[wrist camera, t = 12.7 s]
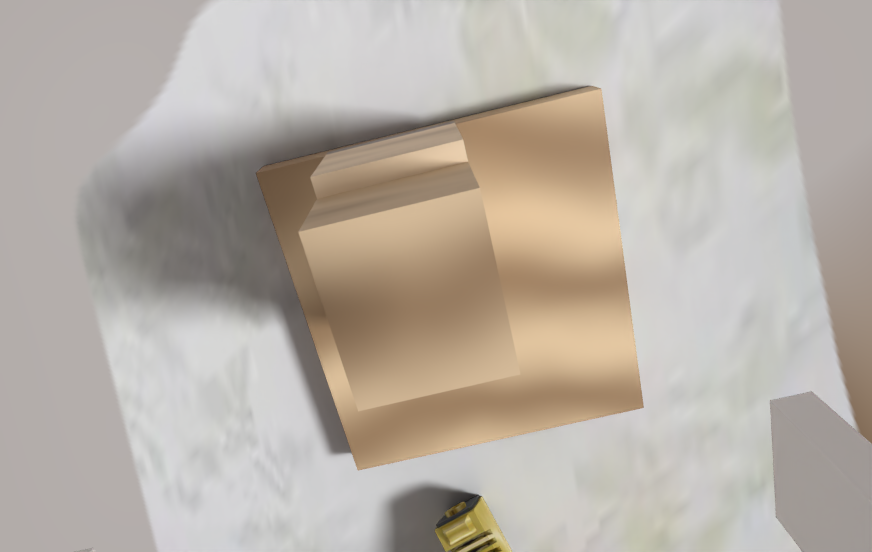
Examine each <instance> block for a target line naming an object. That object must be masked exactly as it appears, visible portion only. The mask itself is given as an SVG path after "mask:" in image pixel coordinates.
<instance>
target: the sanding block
mask: <svg viewBox="0 0 872 552" xmlns="http://www.w3.org/2000/svg"><path fill="white" fill-rule="evenodd" d="M310 178H311V181H312V185H313V188H314V191H315V194H316V197H317V200H316V202H315V203H314V205H313V207H312V209H311V210H310V212H309V214H308V216H307V218H306V219H305V221H304V223H303V225H302V226H301V228H300V230H299V232H298V233H299V236H300V239H301V242H302V245H303V248H304V251H305V254H306V257H307V260H308V263H309V266H310V269H311V272H312V274H313V277H314V280H315V283H316V286H317V289H318V292H319V295H320V298H321V301H322V304H323V307H324V310H325V313H326V316H327V319H328V322H329V325H330V328H331V331H332V334H333V337H334V340H335V343H336V346H337V349H338V352H339V355H340V358H341V361H342V364H343V367H344V370H345V373H346V376H347V379H348V382H349V385H350V388H351V391H352V394H353V397H354V400H355V403H356V406H357V409H358V411H362V410H367V409H371V408H375V407H380V406H384V405H389V404H393V403H397V402H402V401H406V400H410V399H415V398H419V397H424V396H428V395H432V394H437V393H441V392H446V391H450V390H454V389H459V388H463V387H468V386H472V385H476V384H481V383H485V382H490V381H494V380H498V379H503V378H507V377H511V376H516V375H520V370H519V365H518V361H517V356H516V351H515V347H514V342H513V338H512V333H511V328H510V324H509V319H508V315H507V310H506V305H505V301H504V296H503V292H502V287H501V282H500V278H499V273H498V269H497V264H496V259H495V255H494V250H493V245H492V241H491V236H490V232H489V227H488V222H487V218H486V213H485V209H484V204H483V199H482V195H481V190H480V187H479V185H478V182H477V180H476V178H475V176H474V174H473V171H472V169H471V167H470V165H469V163H468V159H467V154H466V150H465V145H464V141H463V138H462V136H461V134H460V132H459V130H458V128H457V126H456V124H455V122H454V121H451V122H447V123H443V124H439V125H435V126H431V127H427V128H423V129H419V130H415V131H411V132H407V133H403V134H399V135H395V136H391V137H387V138H383V139H379V140H375V141H371V142H367V143H363V144H359V145H355V146H351V147H347V148H343V149H339V150H335V151H331V152H328V153H327V154H326V155H325V157H324V158H323V160H322V161H321V163H320V164H319V165H318V167H317V168H316V170H315V171H314V173H313V174H312V175H311V177H310Z"/></svg>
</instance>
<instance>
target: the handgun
mask: <svg viewBox="0 0 872 552" xmlns="http://www.w3.org/2000/svg"><path fill="white" fill-rule="evenodd" d="M435 532H436V534H437V536H438V538H439V540H440V542H441V544H442V546H443V548H444V550H445V552H447V551H449V550H451V551H452V552H512V550H511V548H510V547H509V545H508V543H507V541H506V539H505V537H504V536H503V534H502V532H501V530H500V528H499V526H498V525H497V523H496V521H495V519H494V517H493V515H492V514H491V512H490V510H489V508H488V506H487V504H486V503H485V501H484V499H483V497H479V495H477V496H476V497H474V498H472V499H470V500H468V501H466V502H461V503H459V504H457V505H455V506H454V507H452V508H451V509H449V510H448V511H446V512H445V516H444V517H443V518H442V519H441V520H440V521H439V522H438V523H437V528H436V529H435Z"/></svg>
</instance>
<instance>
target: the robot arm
mask: <svg viewBox="0 0 872 552" xmlns="http://www.w3.org/2000/svg"><path fill="white" fill-rule="evenodd" d="M770 412H771V431H772V450H773V470H774V489H775V508H776V518H777V519H778V520H779V522H780V523H781V524H782V525H783V527H784V528H785V529H786V531H787V532H788V533H789V535H790V536H791V537H792V539H793V540H794V541H795V542H796V544H797V545H798V546H799V548H800V549H801V550H802V552H872V444H871V443H870V442H869V441H868V440H866V439H865V438H864V437H863V436H862V435H861V434H860V433H859V432H857V431H856V430H855V429H854V428H853V427H852V426H851V425H849V424H848V423H847V422H846V421H845V420H844V419H843V418H841V417H840V416H839V415H838V414H837V413H836V412H835V411H833V410H832V409H831V408H830V407H829V406H828V405H827V404H826V403H824V402H823V401H822V400H821V399H820V398H819V397H818V396H816V395H815V394H814V393H813V392H812V391H811V392H807V393H802V394H797V395H793V396H788V397H784V398H779V399H774V400H770ZM76 552H95V550H94V549H93V548H90V549H85V550H80V551H76Z"/></svg>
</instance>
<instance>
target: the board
mask: <svg viewBox="0 0 872 552" xmlns="http://www.w3.org/2000/svg"><path fill="white" fill-rule="evenodd" d="M451 121H454V122H455V124H456V126H457V128H458V130H459V132H460V134H461V136H462V138H463V141H464V145H465V150H466V154H467V159H468V163H469V165H470V167H471V169H472V171H473V174H474V176H475V178H476V180H477V182H478V185H479V187H480V190H481V195H482V199H483V204H484V209H485V213H486V218H487V222H488V227H489V232H490V236H491V241H492V245H493V250H494V255H495V259H496V264H497V269H498V273H499V278H500V282H501V287H502V292H503V296H504V301H505V305H506V310H507V315H508V319H509V324H510V328H511V333H512V338H513V342H514V347H515V351H516V356H517V361H518V365H519V370H520V375H516V376H511V377H507V378H503V379H498V380H494V381H490V382H485V383H481V384H476V385H472V386H468V387H463V388H459V389H454V390H450V391H446V392H441V393H437V394H432V395H428V396H424V397H419V398H415V399H410V400H406V401H402V402H397V403H393V404H389V405H384V406H380V407H375V408H371V409H367V410H362V411H358V409H357V406H356V403H355V400H354V397H353V394H352V391H351V388H350V385H349V382H348V379H347V376H346V373H345V370H344V367H343V364H342V361H341V358H340V355H339V352H338V349H337V346H336V343H335V340H334V337H333V334H332V331H331V328H330V325H329V322H328V319H327V316H326V313H325V310H324V307H323V304H322V301H321V298H320V295H319V292H318V289H317V286H316V283H315V280H314V277H313V274H312V272H311V269H310V266H309V263H308V260H307V257H306V254H305V251H304V248H303V245H302V242H301V239H300V236H299V233H298V232H299V230H300V228H301V226H302V225H303V223H304V221H305V219H306V218H307V216H308V214H309V212H310V210H311V209H312V207H313V205H314V203H315V202H316V200H317V197H316V194H315V191H314V188H313V185H312V181H311V178H310V177H311V175H312V174H313V173H314V171H315V170H316V168H317V167H318V165H319V164H320V163H321V161H322V160H323V158H324V157H325V155H326V154H327V153H328V152H331V151H335V150H339V149H343V148H347V147H351V146H355V145H359V144H363V143H367V142H371V141H375V140H379V139H383V138H387V137H391V136H395V135H399V134H403V133H407V132H411V131H415V130H419V129H423V128H427V127H431V126H435V125H439V124H443V123H447V122H451ZM256 175H257V178H258V181H259V184H260V187H261V190H262V193H263V196H264V199H265V202H266V204H267V207H268V210H269V213H270V216H271V219H272V222H273V225H274V228H275V231H276V234H277V236H278V239H279V242H280V245H281V248H282V251H283V254H284V257H285V260H286V263H287V266H288V269H289V271H290V274H291V277H292V280H293V283H294V286H295V289H296V292H297V295H298V298H299V301H300V303H301V306H302V309H303V312H304V315H305V318H306V321H307V324H308V327H309V330H310V333H311V335H312V338H313V341H314V344H315V347H316V350H317V353H318V356H319V359H320V362H321V365H322V368H323V370H324V373H325V376H326V379H327V382H328V385H329V388H330V391H331V394H332V397H333V400H334V402H335V405H336V408H337V411H338V414H339V417H340V420H341V423H342V426H343V429H344V432H345V434H346V437H347V440H348V443H349V446H350V449H351V452H352V455H353V458H354V461H355V464H356V467H357V469H358V470H362V469H367V468H371V467H376V466H381V465H385V464H390V463H394V462H399V461H403V460H408V459H412V458H417V457H422V456H426V455H431V454H435V453H440V452H444V451H449V450H453V449H458V448H463V447H467V446H472V445H476V444H481V443H485V442H490V441H494V440H499V439H504V438H508V437H513V436H517V435H522V434H526V433H531V432H535V431H540V430H545V429H549V428H554V427H558V426H563V425H567V424H572V423H576V422H581V421H586V420H590V419H595V418H599V417H604V416H608V415H613V414H617V413H622V412H627V411H631V410H636V409H640V408H644V406H643V399H642V391H641V384H640V376H639V369H638V361H637V354H636V346H635V339H634V331H633V324H632V316H631V309H630V301H629V294H628V286H627V278H626V271H625V263H624V256H623V248H622V241H621V233H620V226H619V218H618V211H617V203H616V196H615V188H614V181H613V173H612V166H611V158H610V150H609V143H608V135H607V128H606V120H605V113H604V105H603V98H602V90H601V88H597V87H594V86H589V87H585V88H581V89H577V90H573V91H568V92H564V93H560V94H556V95H552V96H548V97H544V98H540V99H536V100H532V101H528V102H524V103H519V104H515V105H511V106H507V107H503V108H499V109H495V110H491V111H487V112H483V113H479V114H475V115H470V116H466V117H462V118H458V119H454V120H450V121H446V122H442V123H438V124H434V125H430V126H426V127H422V128H417V129H413V130H409V131H405V132H401V133H397V134H393V135H389V136H385V137H381V138H377V139H373V140H368V141H364V142H360V143H356V144H352V145H348V146H344V147H340V148H336V149H332V150H328V151H324V152H319V153H315V154H311V155H307V156H303V157H299V158H295V159H291V160H287V161H283V162H279V163H275V164H270V165H266V166H263V167H262V168H261V169H260V170H259V171H257V172H256Z"/></svg>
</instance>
